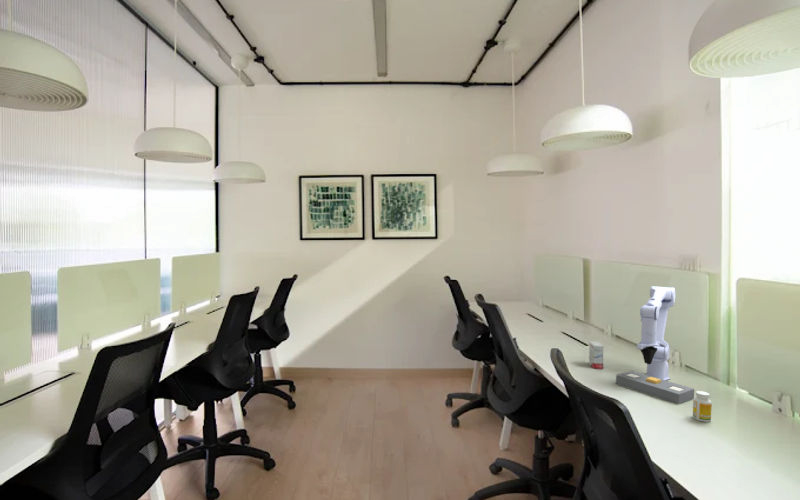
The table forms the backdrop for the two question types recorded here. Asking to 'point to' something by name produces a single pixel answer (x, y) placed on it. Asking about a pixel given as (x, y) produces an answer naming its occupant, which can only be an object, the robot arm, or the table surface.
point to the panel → (655, 387)
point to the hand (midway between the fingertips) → (647, 363)
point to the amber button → (653, 380)
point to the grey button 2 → (676, 388)
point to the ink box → (596, 355)
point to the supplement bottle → (702, 406)
